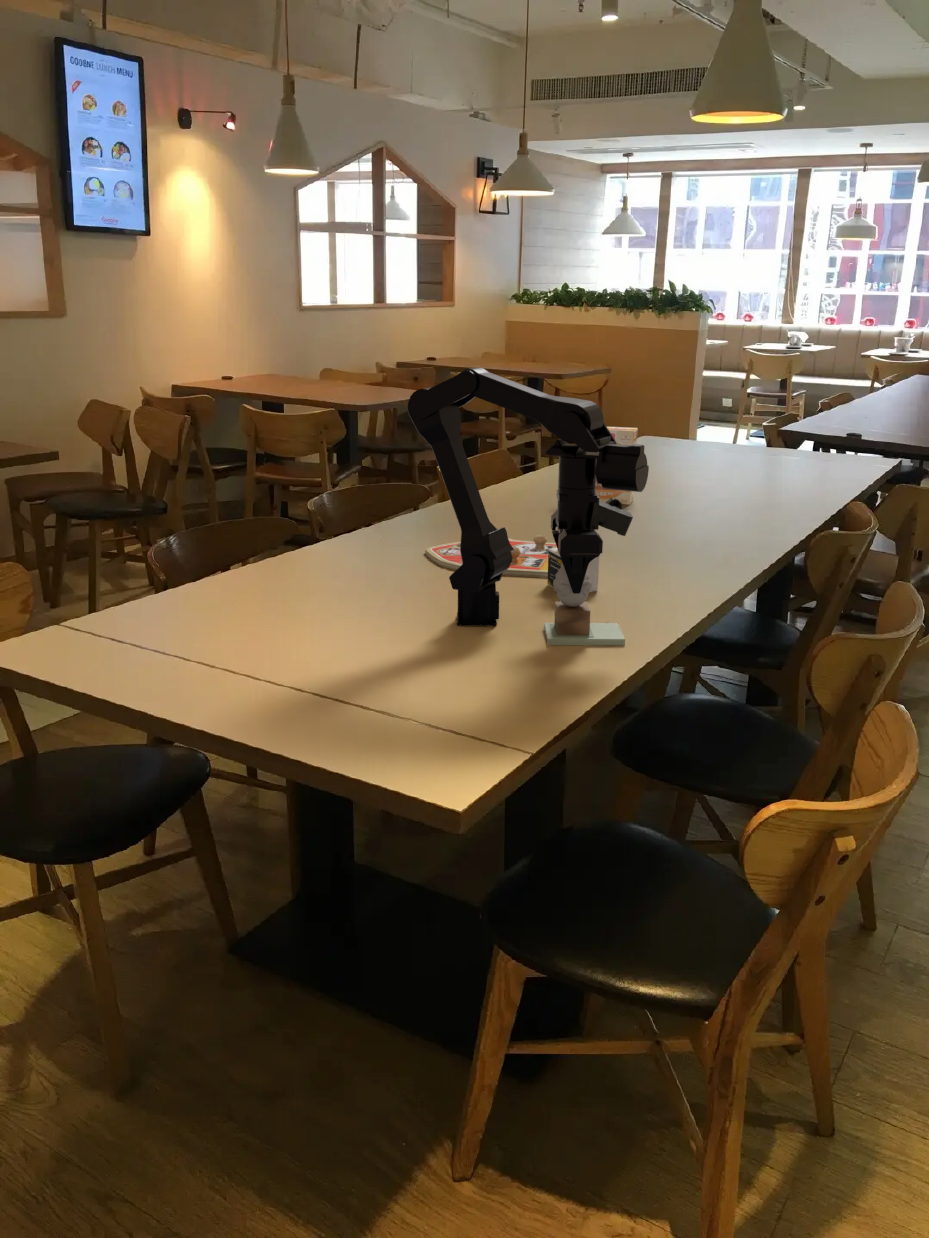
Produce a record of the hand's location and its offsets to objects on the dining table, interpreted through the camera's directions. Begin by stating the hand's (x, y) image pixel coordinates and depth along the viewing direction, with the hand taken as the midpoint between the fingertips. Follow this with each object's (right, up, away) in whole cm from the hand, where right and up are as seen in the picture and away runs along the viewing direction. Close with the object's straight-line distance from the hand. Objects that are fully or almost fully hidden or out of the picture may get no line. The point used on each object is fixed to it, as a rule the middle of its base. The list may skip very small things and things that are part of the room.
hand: (573, 585), depth 155 cm
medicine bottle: (+3, 0, +29) cm, 29 cm away
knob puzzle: (-11, +7, +51) cm, 53 cm away
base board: (+2, -8, +3) cm, 9 cm away
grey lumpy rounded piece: (0, -3, +1) cm, 4 cm away
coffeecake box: (+20, +26, +110) cm, 115 cm away
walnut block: (0, -7, +2) cm, 7 cm away
